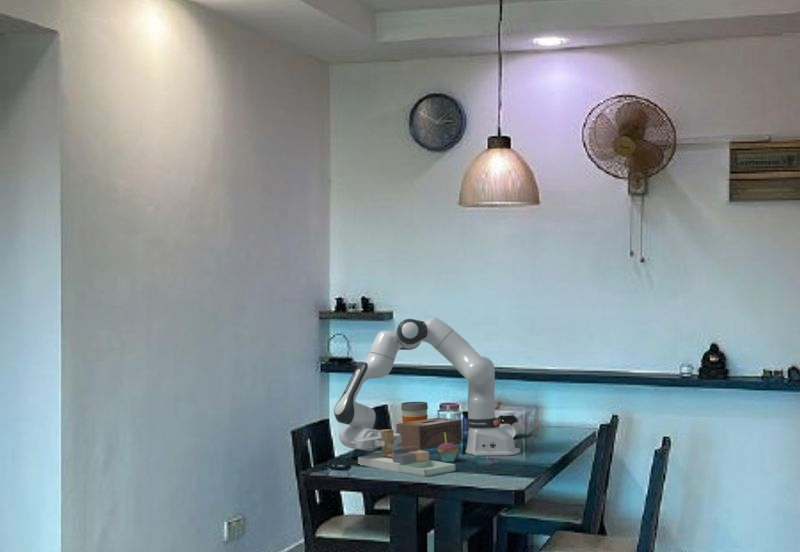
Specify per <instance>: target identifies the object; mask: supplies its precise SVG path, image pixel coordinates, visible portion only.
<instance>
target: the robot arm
mask: <svg viewBox="0 0 800 552" xmlns="http://www.w3.org/2000/svg"><path fill="white" fill-rule="evenodd" d="M422 342H424V343H427V344H429V345H431V346H432V347H433V348H434V349H435V351H437V352H438V353H439V354H441V356H442V357H444V358H445V359H446V361H448V363H450V364H451V365H452V366H453V367H454V368H455V369H456V370H457V371H458V372H459V374H460V375H462V376H463V377H464V379H466V381H468V382H467V383H468V384H467V386H468V388H467V418H466V419H467V421H466V428H467V429H466V430H467V443H466V449H465V453H466V454H469V455H473V456H475V457H476V456H477V457H478V456H514V455H515V456H516V455H518V454H520V452H521V448H519V447H516V444H515V440H514V439H515V438H513V437H512V436H511V435H510V434H509V433H507V432H506V431H505V430H503V429H502V428H501V427H500V419H497V418H498V417H496V409H495V408H496V407H495V391H496V390H495V385H496V383H495V378H496V377H495V376H496V375H495V374H496V372H495V364H494V362H493V361H492V360H491V359H490V358H489V357H486V356H482V355H480V353H478V352H477V350H476V349H475V348H474V347H473V346H472V345H471V344H470V343H469V342H468V341H467V340H466V339H465V338H464V337H463V336H461V335H460V334H459V333H458V332H457V331H456V330H455V329H454V328H452V326H450V325H448V324H447V323H446V322H445V321H443V320H442V319H439V318H438V317H435V316H434V317H430V318H428V319H426V320H425V321H423V320H418V319H414V318H406V319H403V320H402V321H400V323H399V324H398V325H397V328H396V330H395V331H390V330H380V331H379V332H378V333H377V334H376V336H375V338H374V340H373V342H372V344H371V347H370V349H369V352H368V355H367V356H366V358H365V359H364V361H363V362H360V363H359V364H358V365H357V366H356V368H355V370H354V371H353V373H352V375H351V377H350V379H349V381H348V383H347V385H346V387H345V390H344V391H343V393H342V395H341V397H340V398H339V400H337V403H336V404H335V405H334V408H333V413H334V417H335V419H336V421H337V422H338V423H340V424H344V425H345V426H344V427H342V428H341V429H340V430H339V432H338V440H339V441H340V443H341V444H342V445H343V446H345V447H347V448H349V449H354V450H360V451H365V452H373V451H375V450H377V449H379V448H381V446H387V442H386V441H381V430H382V429H375V427H376V423H377V414H376V412H375V410H374V408H372V407H370V406H367V405H365V404H361V403H359V402H357V401H356V398H357V396H358V395H359V392H360V390H361V389H362V386H363V385H364V383H365V382H366V381H368V380H370V379H380V378H384V377H386V376H388V375H389V374H390V372H391V371H392V369H393V367H394V363H395V360H396V358H397V354H398V352H399V351H400V350H401V351H412V350H414V349H416V348H418V347H419V346H420V345H421V343H422ZM393 434H394V446H395V445H397V444H400V443H401V435H400V434H398V433H396V432H394V431H393Z"/></svg>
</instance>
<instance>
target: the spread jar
mask: <svg viewBox="0 0 800 552" xmlns="http://www.w3.org/2000/svg"><path fill="white" fill-rule="evenodd" d="M498 415H499V416H498V417H496V418H497V419H500V427H501V428H502V429H503V430H505V431H506V432H507V433H509V434H510V435H511V436H512V437H513V439H516V437H518V435H519V433H520V424H519V423H520V421H519V420H518V418H517V416H515V411H514V410H500V411H499V412H498Z"/></svg>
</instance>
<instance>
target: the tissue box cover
mask: <svg viewBox="0 0 800 552" xmlns="http://www.w3.org/2000/svg"><path fill="white" fill-rule="evenodd" d="M462 424H463V423H462V419H459V418H458V419H457V418H448V417H432V418H427V419H425V420H419V421H412V422H406V423H403V422H402V423H401V422H400V423H396V424H395V426H396V432H395V433H398V434H400V435H401V443H400V444H396V447H398V446H401V447H400V448H405V447H411V446H418V450H425V449H429V448H436V446H437V447H439V445H441V444H444V443H445V436H444V433H446V439H447V443H453V442H459V441H462V442H463V427H462ZM444 431H445V432H444ZM459 443H460V442H459ZM453 444H454V443H453Z"/></svg>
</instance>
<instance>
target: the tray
mask: <svg viewBox="0 0 800 552" xmlns="http://www.w3.org/2000/svg"><path fill="white" fill-rule="evenodd" d="M456 465H457V464H455V463H450V462H444V461H439V460H438V461H437V460H430V459H429V460H426V461H420V462H415V463H409V464H404V465H399V472H398V473H403V474H408V475H415V476H420V477H426V478H427V477H432V476H437V475H442V474H443V475H444V474H447V473H452V472H453V473H454V472H456V469H457V468H456Z"/></svg>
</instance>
